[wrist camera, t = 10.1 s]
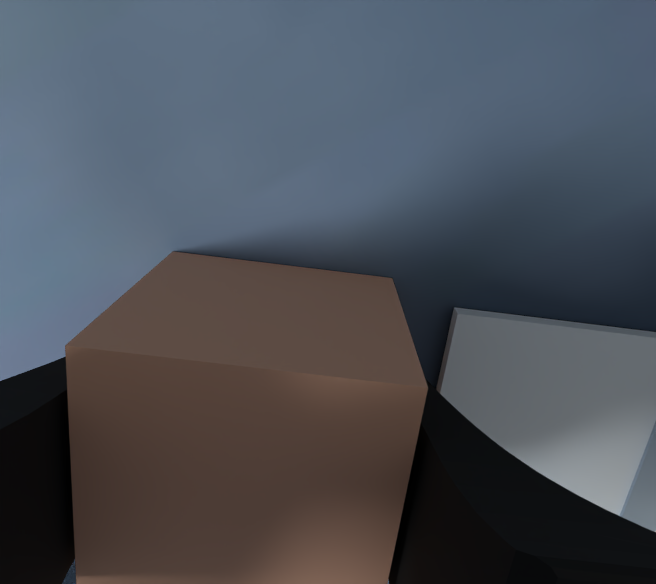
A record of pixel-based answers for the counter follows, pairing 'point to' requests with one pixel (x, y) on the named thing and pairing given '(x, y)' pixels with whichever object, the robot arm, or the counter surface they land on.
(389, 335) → the cube
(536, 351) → the white flat plate
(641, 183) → the counter surface
